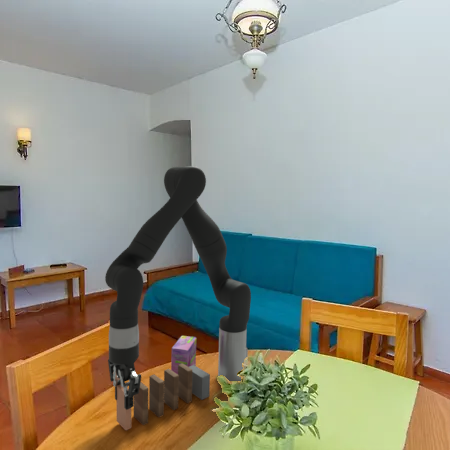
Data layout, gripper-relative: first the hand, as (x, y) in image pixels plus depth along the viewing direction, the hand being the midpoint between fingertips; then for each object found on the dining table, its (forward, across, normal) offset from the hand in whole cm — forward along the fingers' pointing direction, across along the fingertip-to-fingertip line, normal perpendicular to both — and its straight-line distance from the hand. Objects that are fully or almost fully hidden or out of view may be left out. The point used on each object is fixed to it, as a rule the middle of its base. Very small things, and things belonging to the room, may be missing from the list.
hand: (124, 403), depth 94 cm
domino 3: (+7, 0, -15) cm, 16 cm away
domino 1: (+7, 0, -5) cm, 8 cm away
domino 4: (+7, 0, -20) cm, 21 cm away
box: (+7, +11, -28) cm, 31 cm away
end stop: (+7, 0, -25) cm, 26 cm away
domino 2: (+7, 0, -10) cm, 12 cm away
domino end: (+6, 0, 0) cm, 6 cm away
